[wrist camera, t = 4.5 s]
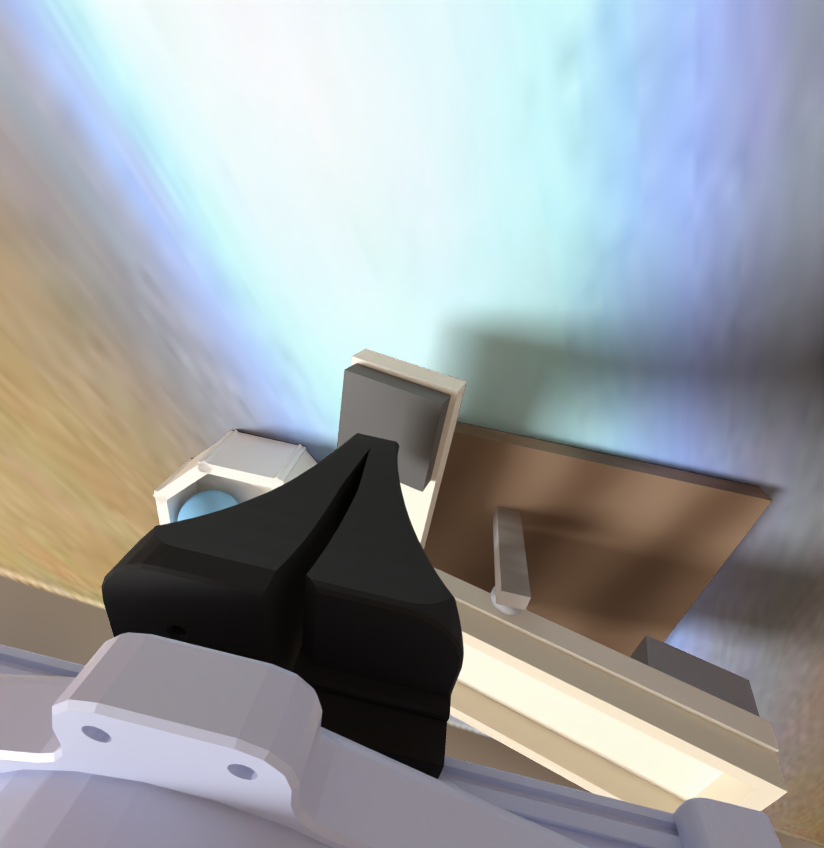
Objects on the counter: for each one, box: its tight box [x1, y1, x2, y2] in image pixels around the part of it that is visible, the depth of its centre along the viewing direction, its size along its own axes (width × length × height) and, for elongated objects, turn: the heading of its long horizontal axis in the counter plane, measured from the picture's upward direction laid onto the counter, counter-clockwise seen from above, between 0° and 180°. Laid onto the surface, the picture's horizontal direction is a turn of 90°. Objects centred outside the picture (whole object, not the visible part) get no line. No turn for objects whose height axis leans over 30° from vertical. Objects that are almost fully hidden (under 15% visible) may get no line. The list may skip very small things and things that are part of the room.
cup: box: [153, 430, 317, 525], centre depth 24 cm, size 10×10×3 cm
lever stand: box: [424, 422, 772, 657], centre depth 21 cm, size 18×15×6 cm
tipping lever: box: [337, 349, 788, 814], centre depth 17 cm, size 18×15×4 cm
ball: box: [177, 490, 238, 521], centre depth 23 cm, size 3×3×3 cm
